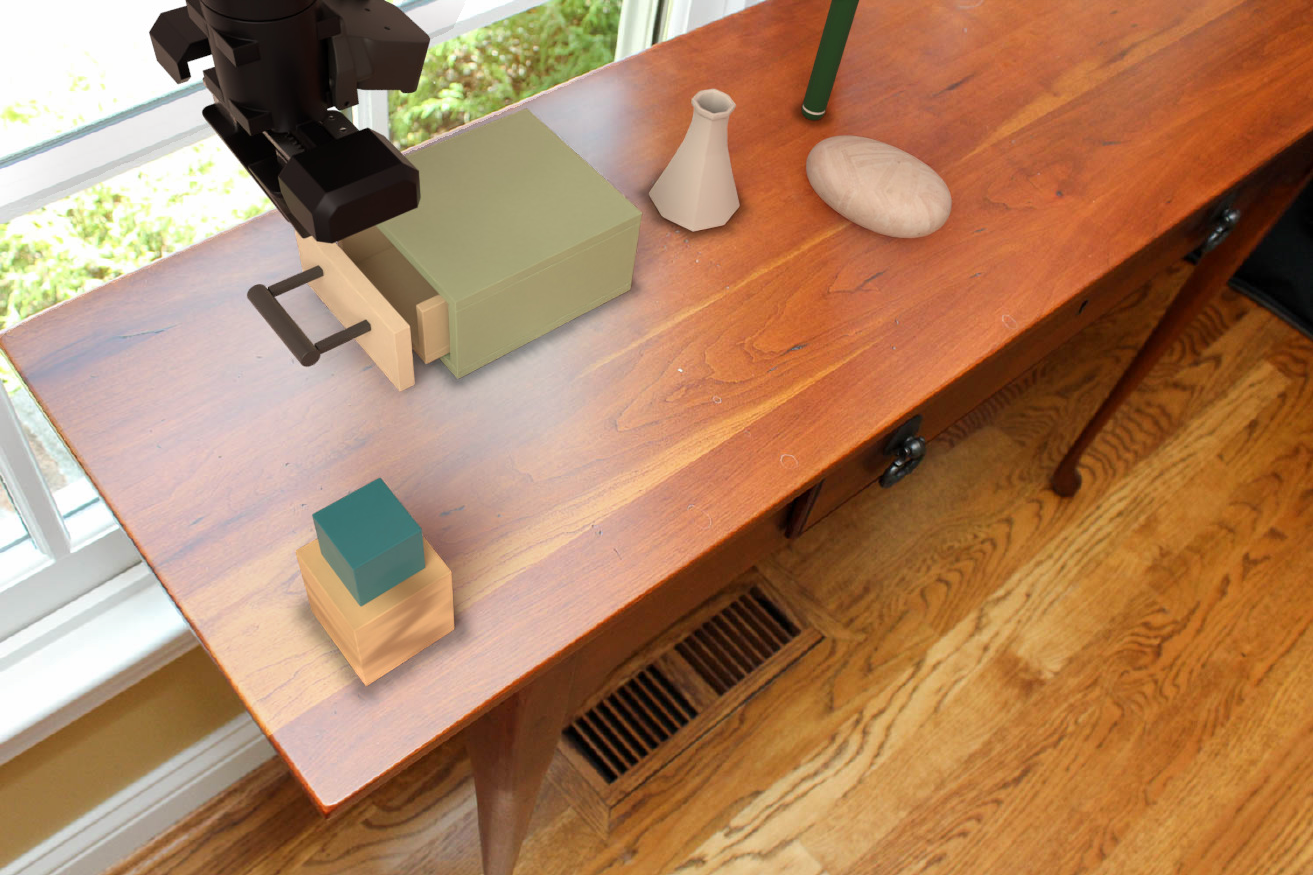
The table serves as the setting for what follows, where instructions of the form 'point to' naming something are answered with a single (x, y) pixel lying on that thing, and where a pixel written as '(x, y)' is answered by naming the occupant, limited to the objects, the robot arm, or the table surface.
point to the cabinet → (514, 236)
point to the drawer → (363, 304)
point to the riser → (380, 613)
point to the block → (370, 541)
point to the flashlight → (828, 57)
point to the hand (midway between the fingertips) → (302, 226)
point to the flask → (700, 169)
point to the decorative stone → (878, 186)
